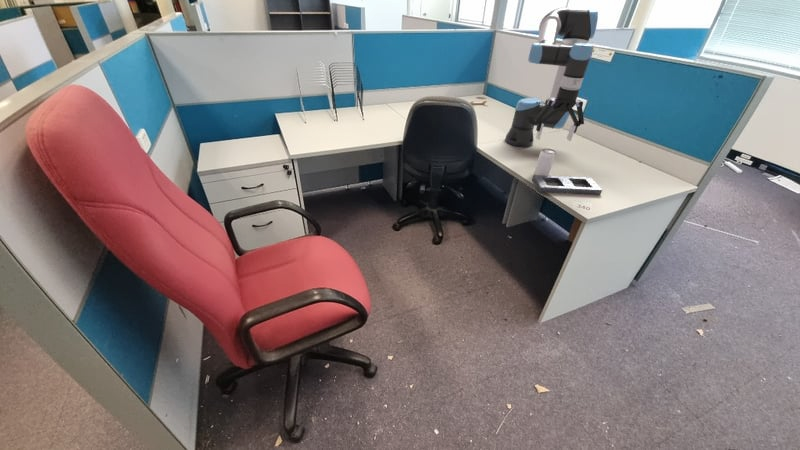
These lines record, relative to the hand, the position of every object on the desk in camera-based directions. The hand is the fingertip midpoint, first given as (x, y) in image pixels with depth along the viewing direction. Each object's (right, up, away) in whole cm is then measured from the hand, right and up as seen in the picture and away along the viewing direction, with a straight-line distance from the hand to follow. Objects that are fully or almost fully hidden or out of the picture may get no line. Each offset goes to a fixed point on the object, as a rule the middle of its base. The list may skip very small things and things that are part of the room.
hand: (553, 139), depth 144 cm
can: (-1, -14, +11) cm, 18 cm away
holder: (+6, -21, +2) cm, 22 cm away
